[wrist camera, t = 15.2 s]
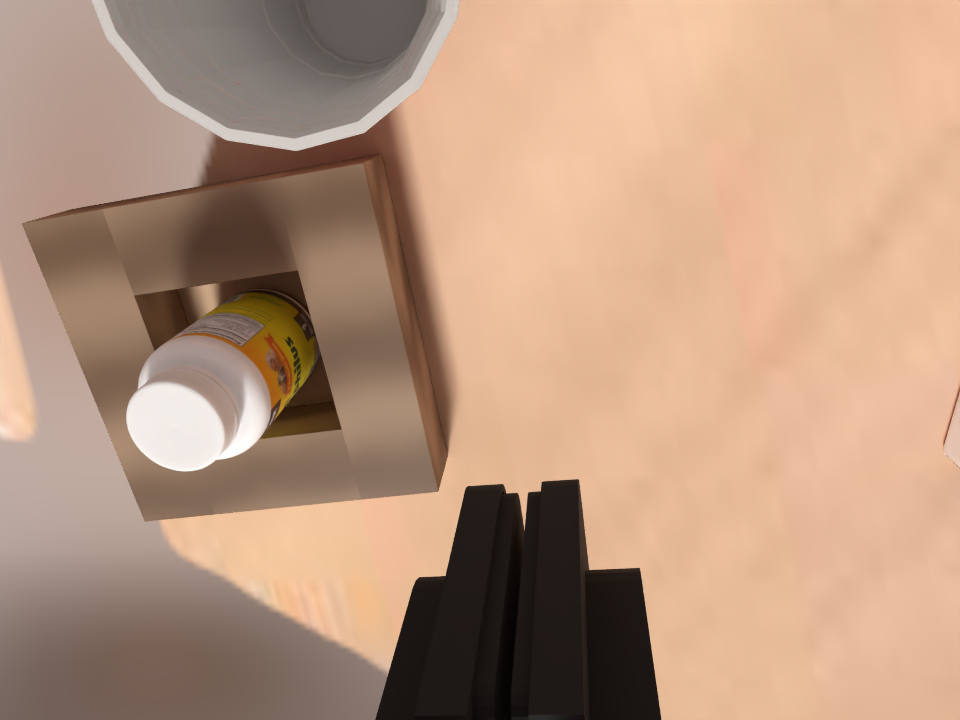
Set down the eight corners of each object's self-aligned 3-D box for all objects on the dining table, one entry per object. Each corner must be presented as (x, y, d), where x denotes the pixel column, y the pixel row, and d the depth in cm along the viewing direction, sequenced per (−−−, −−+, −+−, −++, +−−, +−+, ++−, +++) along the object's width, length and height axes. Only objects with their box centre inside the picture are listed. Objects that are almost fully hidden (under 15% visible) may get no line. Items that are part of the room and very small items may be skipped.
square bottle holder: (70, 209, 35) (22, 223, 31) (381, 154, 32) (363, 163, 29) (177, 485, 40) (144, 521, 37) (447, 456, 38) (438, 491, 35)
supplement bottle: (314, 397, 37) (235, 507, 28) (213, 369, 37) (99, 469, 28) (333, 301, 35) (253, 385, 26) (226, 271, 35) (107, 343, 26)
